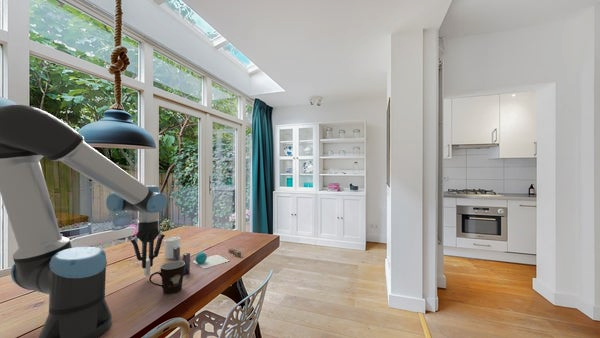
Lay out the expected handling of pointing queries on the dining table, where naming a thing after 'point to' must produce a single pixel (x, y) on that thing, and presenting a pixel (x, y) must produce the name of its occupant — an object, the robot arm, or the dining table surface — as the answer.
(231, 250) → the stopper wall
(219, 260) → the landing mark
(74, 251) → the robot arm
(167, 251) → the white cup
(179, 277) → the coffee mug
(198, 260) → the ball
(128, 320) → the dining table surface
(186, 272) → the near post
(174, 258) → the far post
